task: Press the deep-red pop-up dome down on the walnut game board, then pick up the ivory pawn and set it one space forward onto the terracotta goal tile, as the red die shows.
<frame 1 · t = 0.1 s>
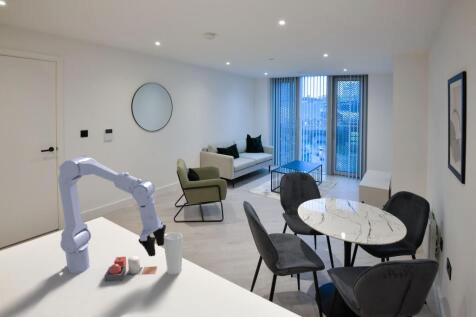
hand: (156, 250, 108), 10 cm above the kitchen island, tool pointing down, fingers open, 7 cm apart
drinking glass: (174, 273, 113), on the kitchen island
red die: (120, 267, 115), resting on game board
ivory pawn: (134, 271, 112), point 1 cm above the kitchen island, touching game board
pop dome: (115, 268, 108), point 4 cm above the kitchen island, slide at 0.0 cm
pop dome base: (115, 276, 109), resting on game board
game board: (133, 273, 112), on the kitchen island
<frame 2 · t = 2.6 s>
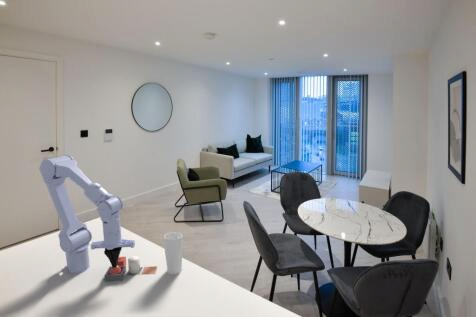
hand: (115, 265, 108), 5 cm above the kitchen island, tool pointing down, fingers closed, pressing on pop dome
pop dome: (115, 270, 108), point 3 cm above the kitchen island, slide at 0.5 cm, touching gripper
everything else where it was.
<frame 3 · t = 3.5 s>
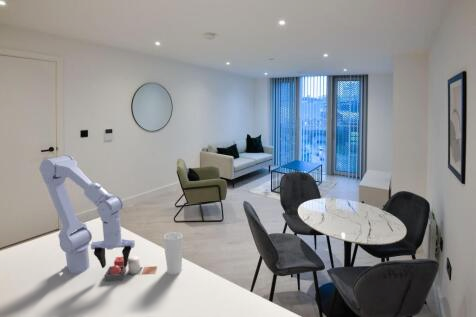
hand: (114, 265, 108), 5 cm above the kitchen island, tool pointing down, fingers open, 7 cm apart
pop dome: (115, 270, 108), point 3 cm above the kitchen island, slide at 0.6 cm
everything else where it was.
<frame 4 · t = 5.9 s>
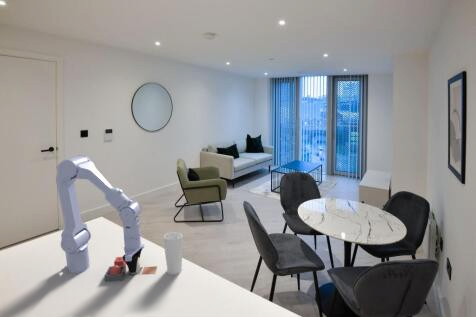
hand: (134, 268, 112), 2 cm above the kitchen island, tool pointing down, fingers closed on ivory pawn, 4 cm apart
ivory pawn: (134, 270, 112), point 1 cm above the kitchen island, touching game board, gripper
everything else where it was.
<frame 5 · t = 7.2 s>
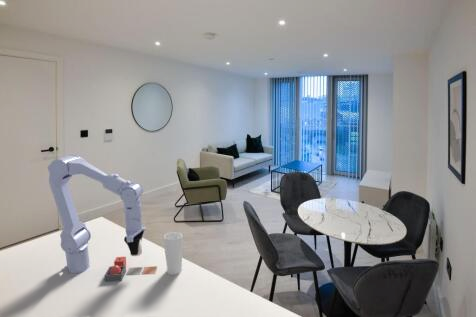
hand: (136, 251, 111), 9 cm above the kitchen island, tool pointing down, fingers closed on ivory pawn, 4 cm apart
ivory pawn: (136, 253, 111), point 8 cm above the kitchen island, touching gripper
everything else where it was.
when the fingers open (3 cm above the kitchen island, at t = 8.9 s): ivory pawn drops 2 cm, resting on game board.
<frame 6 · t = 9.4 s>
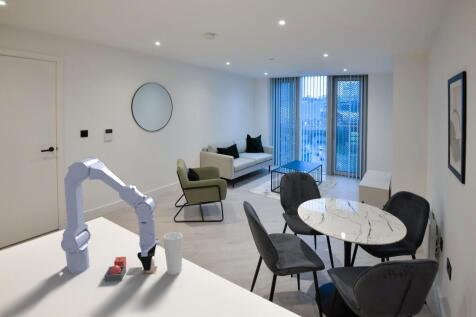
hand: (149, 264, 112), 3 cm above the kitchen island, tool pointing down, fingers open, 7 cm apart
ivory pawn: (149, 270, 113), point 1 cm above the kitchen island, touching game board
everything else where it was.
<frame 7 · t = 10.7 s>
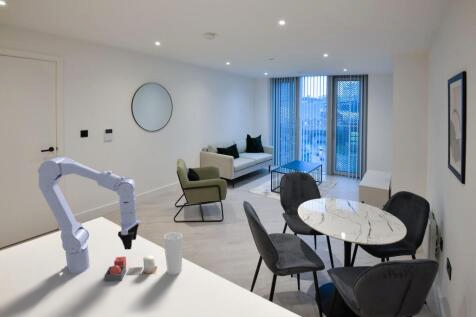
hand: (130, 244, 115), 9 cm above the kitchen island, tool pointing down, fingers open, 7 cm apart
nothing on the kitchen island moved.
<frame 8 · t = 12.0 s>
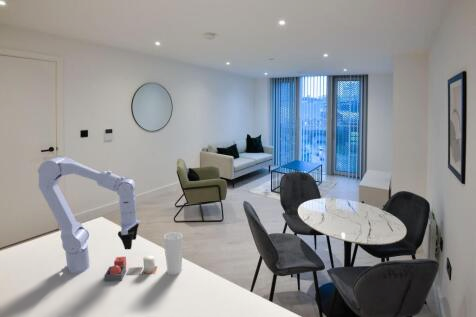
hand: (130, 244, 115), 9 cm above the kitchen island, tool pointing down, fingers open, 7 cm apart
nothing on the kitchen island moved.
at the end: pop dome slide at 0.6 cm; ivory pawn 0.0 cm from the target spot, point 0.9 cm above the kitchen island; ivory pawn tilted 0° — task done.
